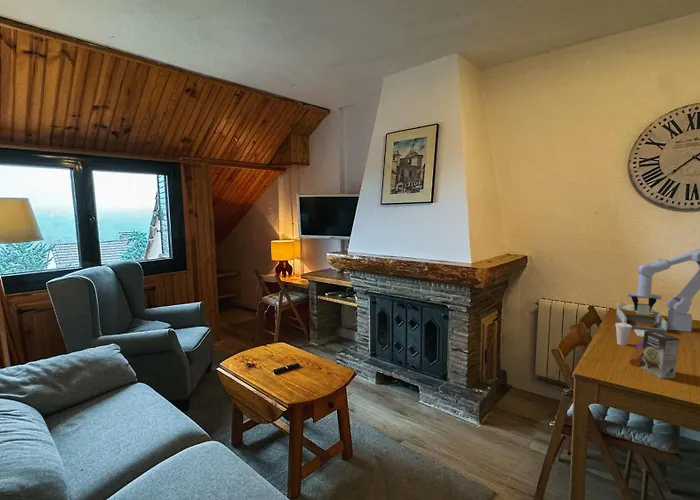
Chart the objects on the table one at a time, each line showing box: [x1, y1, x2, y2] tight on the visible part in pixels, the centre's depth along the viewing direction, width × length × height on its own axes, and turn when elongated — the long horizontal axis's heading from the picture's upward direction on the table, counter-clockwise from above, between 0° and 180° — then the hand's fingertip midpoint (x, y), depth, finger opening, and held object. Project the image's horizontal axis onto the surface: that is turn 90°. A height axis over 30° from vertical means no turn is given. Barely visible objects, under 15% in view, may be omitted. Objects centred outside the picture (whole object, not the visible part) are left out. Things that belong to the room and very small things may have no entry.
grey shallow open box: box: [615, 306, 668, 334], centre depth 201 cm, size 18×25×6 cm
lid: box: [615, 302, 660, 315], centre depth 209 cm, size 18×13×3 cm
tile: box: [633, 329, 645, 338], centre depth 184 cm, size 10×10×1 cm
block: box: [635, 302, 650, 316], centre depth 197 cm, size 5×5×5 cm
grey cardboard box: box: [640, 331, 680, 379], centre depth 142 cm, size 9×6×16 cm
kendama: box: [629, 341, 643, 367], centre depth 156 cm, size 6×6×20 cm
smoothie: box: [614, 316, 633, 347], centre depth 172 cm, size 6×6×14 cm
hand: (642, 310), depth 197 cm, fingers closed on block, 5 cm apart
